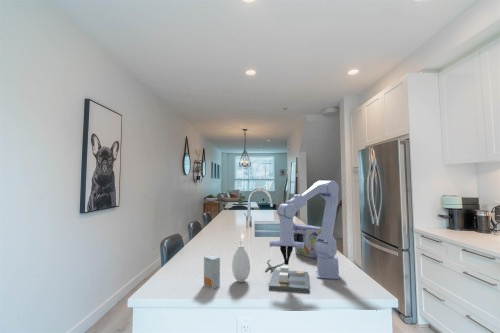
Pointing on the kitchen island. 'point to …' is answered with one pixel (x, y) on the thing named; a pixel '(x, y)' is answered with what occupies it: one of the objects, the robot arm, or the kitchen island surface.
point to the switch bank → (290, 281)
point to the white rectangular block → (283, 277)
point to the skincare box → (212, 271)
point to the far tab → (284, 269)
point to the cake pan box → (306, 239)
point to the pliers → (272, 267)
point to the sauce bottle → (241, 264)
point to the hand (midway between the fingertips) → (286, 264)
